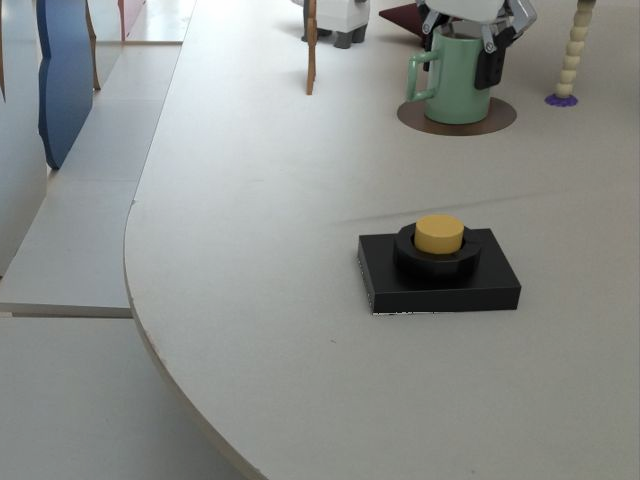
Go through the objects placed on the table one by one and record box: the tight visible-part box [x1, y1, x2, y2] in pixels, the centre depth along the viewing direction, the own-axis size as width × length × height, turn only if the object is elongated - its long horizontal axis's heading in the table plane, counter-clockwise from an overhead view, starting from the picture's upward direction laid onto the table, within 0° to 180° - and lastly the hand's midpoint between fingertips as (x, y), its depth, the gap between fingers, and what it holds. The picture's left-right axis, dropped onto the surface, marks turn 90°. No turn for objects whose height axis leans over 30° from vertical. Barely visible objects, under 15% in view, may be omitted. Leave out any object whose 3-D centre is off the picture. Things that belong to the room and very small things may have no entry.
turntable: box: [396, 96, 518, 137], centre depth 89 cm, size 13×13×1 cm
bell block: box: [357, 221, 523, 314], centre depth 64 cm, size 11×9×4 cm
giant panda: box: [290, 0, 371, 49], centre depth 115 cm, size 15×6×10 cm, turn 43°
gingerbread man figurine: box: [306, 0, 318, 96], centre depth 97 cm, size 9×4×12 cm, turn 167°
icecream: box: [378, 2, 467, 47], centre depth 109 cm, size 7×7×15 cm
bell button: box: [414, 213, 465, 254], centre depth 62 cm, size 4×4×2 cm
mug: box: [404, 20, 499, 125], centre depth 86 cm, size 10×7×9 cm
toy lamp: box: [543, 0, 597, 108], centre depth 84 cm, size 5×5×17 cm
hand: (460, 76), depth 86 cm, fingers closed on mug, 6 cm apart
